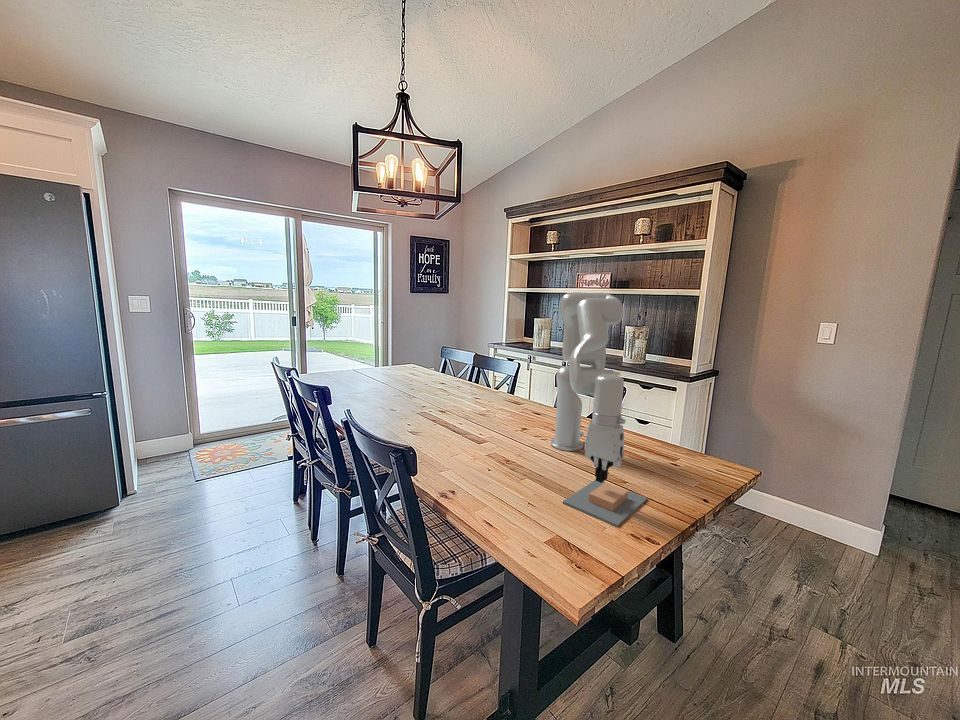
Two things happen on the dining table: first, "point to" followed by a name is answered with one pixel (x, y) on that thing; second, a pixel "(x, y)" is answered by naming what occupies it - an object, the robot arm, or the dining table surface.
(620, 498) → the terracotta tile
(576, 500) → the rubber mat
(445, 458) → the dining table surface
